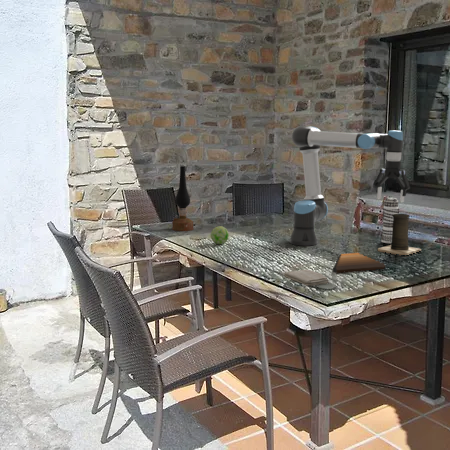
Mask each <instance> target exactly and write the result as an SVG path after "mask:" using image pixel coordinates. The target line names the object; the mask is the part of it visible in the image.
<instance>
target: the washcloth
mask: <svg viewBox="0 0 450 450" xmlns="http://www.w3.org/2000/svg"><path fill="white" fill-rule="evenodd" d="M284 277H286V278H288V279H290V280H293V281H295V282H297V283H300V284H302V285H304V286H306V287H308V286H317V285H324V284H325V285H326V284H328V283H330V281H329V279H328V277H327V276H326V275H325V276H324V274H323V273H321V272H319V273H318V272H316V271H314V270H311V269H309V268H308V269H300V270H293V271H288V272H287V271H286V272H285V273H284Z"/></svg>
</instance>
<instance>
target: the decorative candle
mask: <svg viewBox="0 0 450 450" xmlns="http://www.w3.org/2000/svg"><path fill="white" fill-rule="evenodd" d="M383 201H384V203H383V204H384V205H383V207H382V216H383V217H382V222H383V223H382V229H381V231H382V232H381V234H382V235H381V238H380V241H381V243H385V244H391V243H392V232H393V218H394V217H393V214H400V211H399V210H400V208H399V203H400V200H398V198H396V197H386V198H385V200H383Z"/></svg>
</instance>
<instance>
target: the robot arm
mask: <svg viewBox="0 0 450 450" xmlns="http://www.w3.org/2000/svg"><path fill="white" fill-rule="evenodd" d="M291 133H292V134H291V141H292V143H293V144H294V145H295V146H296V147H298V148H299V153H301V155H302V163H303V165H302V166H303V175H304V187H305V196H304V198H303V200H299V201H296V202H295V203H294V206H293V229H292V232H291V236H290V238H289V243H290V244H291V245H296V246H306V247H307V246H309V247H310V246H315V245H318V238H317V235H316V230H315V227H316V226H315V225H316V222H320V221H322V220H323V219H325V218H326V217H327V215H328V213H329V212H328V211H329V206H328V204H327V203H326V202H325V196H323V194H322V191H321V190H322V189H321V188H322V187H321V175H320V164H319V151H320V150H321V146H324V147H325V146H326V147H338V148H339V147H341V148H353V149H363V150H370V149H386V156H385V157H386V158H385V160H386V161H385V168H380V169H379V173H378V174H377V177H376V178H375V180H374V182H373V184H372V185H373V186H375V187H376V189H375V191H376V195H377V197H376V200H382V190H383V187H382V186H383V184H384V183H385V182H386V181H387V179H395V180H396V181H397V183H398V184H399V186H400V187H401V190H400V195H399V196H400V198H399V203H401V204H403V203H405V197H406V196H407V190H411V186H410V183H409V181H408V178H407V177H408V176H407V172H406V170H401V165H402V161H401V160H402V153H403V152H402V151H403V142H404V132H403V131H402V130H388V133H373V132H372V133H360V132H359V133H358V132H357V133H356V132H341V131H327V130H326V131H325V130H324V131H323V130H320V129H319V128H318V127H316V126H313V125H305V126H304V125H302V126H301V125H300V126H297V127H296V128H294V130H293V131H292V132H291ZM384 174H385V175H384ZM400 175H401V176H400Z"/></svg>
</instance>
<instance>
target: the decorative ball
mask: <svg viewBox="0 0 450 450" xmlns="http://www.w3.org/2000/svg"><path fill="white" fill-rule="evenodd" d="M229 237H230V234H229V231H228V229H227V228H226V227H224V226H220V225H219V226H216V227H214V228H213V229H212V230H211V232H210V239H211V241H212V242H213V243H214V244H217V245H223V244H226V243H227V242H228V240H229Z"/></svg>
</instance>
